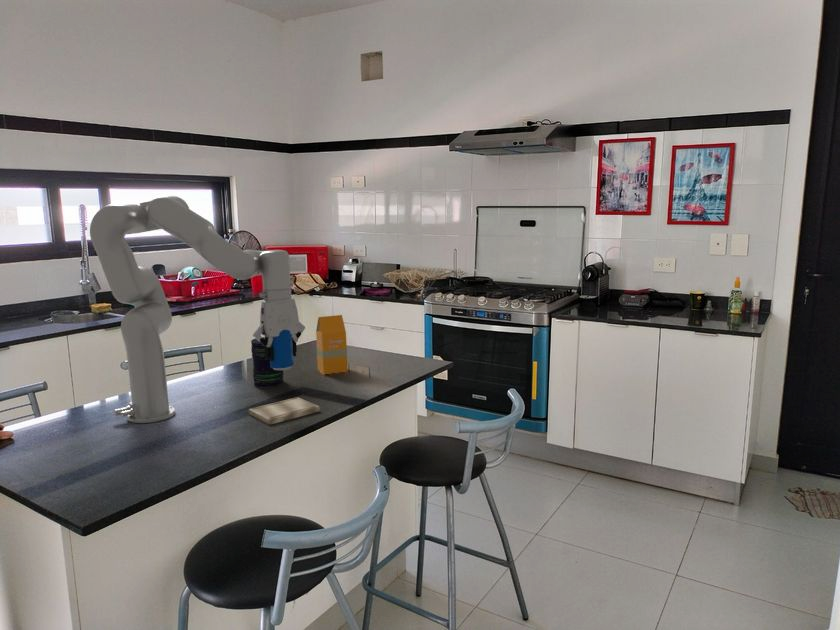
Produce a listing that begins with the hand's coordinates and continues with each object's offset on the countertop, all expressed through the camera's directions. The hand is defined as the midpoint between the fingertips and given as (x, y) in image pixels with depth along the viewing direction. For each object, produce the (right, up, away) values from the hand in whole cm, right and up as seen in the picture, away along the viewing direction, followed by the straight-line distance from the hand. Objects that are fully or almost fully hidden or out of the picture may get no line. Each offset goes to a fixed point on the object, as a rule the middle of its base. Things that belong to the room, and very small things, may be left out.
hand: (281, 357), depth 176 cm
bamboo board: (0, -16, +3) cm, 16 cm away
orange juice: (+8, -8, +46) cm, 48 cm away
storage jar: (-11, -11, +32) cm, 36 cm away
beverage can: (0, -3, +1) cm, 3 cm away
